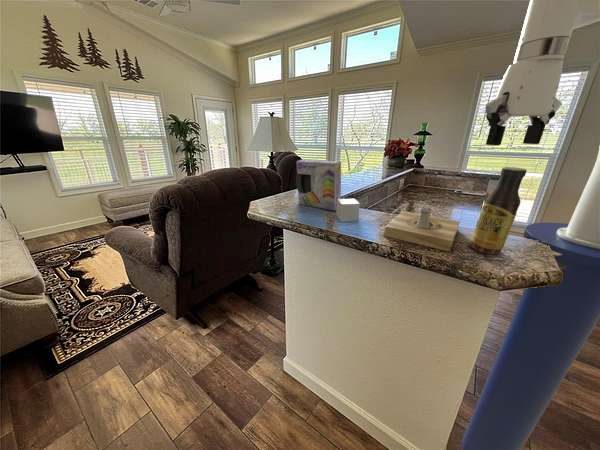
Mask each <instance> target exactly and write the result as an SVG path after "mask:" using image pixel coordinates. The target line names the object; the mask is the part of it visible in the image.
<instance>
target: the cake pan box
mask: <svg viewBox="0 0 600 450" xmlns="http://www.w3.org/2000/svg"><path fill="white" fill-rule="evenodd" d="M295 163H296V176H295V185H296V190H297V192H298V196H297V197H298V204H300V205H304V206H309V207H314V208H318V209H323V210H329V211H334V212H335V211H337V199H342V161H335V160H333V161H332V160H324V159H307V158H306V159H299V160H296V162H295Z"/></svg>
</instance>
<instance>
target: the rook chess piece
mask: <svg viewBox="0 0 600 450" xmlns="http://www.w3.org/2000/svg"><path fill="white" fill-rule="evenodd" d="M418 210H419V212H420V213H418V214H419V215H420V217H419V220H418V223H417V224H416V225H418V226H422V227H429V217H430V216H431V213H432V212H433V209H432V206H431V205H421V206H420V208H419V209H418Z"/></svg>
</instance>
